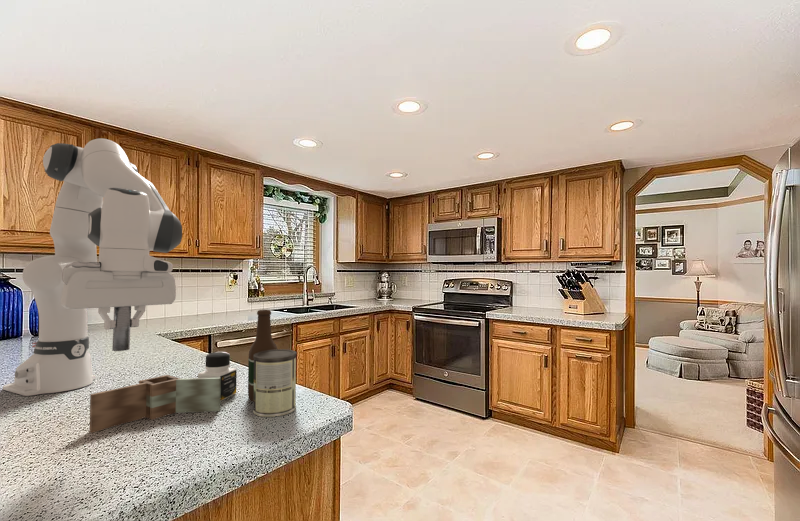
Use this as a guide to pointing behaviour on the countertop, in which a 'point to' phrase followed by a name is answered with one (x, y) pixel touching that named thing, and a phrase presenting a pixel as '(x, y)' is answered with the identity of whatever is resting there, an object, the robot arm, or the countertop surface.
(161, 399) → the stand
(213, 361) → the medicine bottle
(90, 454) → the countertop surface
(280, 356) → the coffee can
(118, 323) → the hinge pin
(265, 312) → the beer bottle
